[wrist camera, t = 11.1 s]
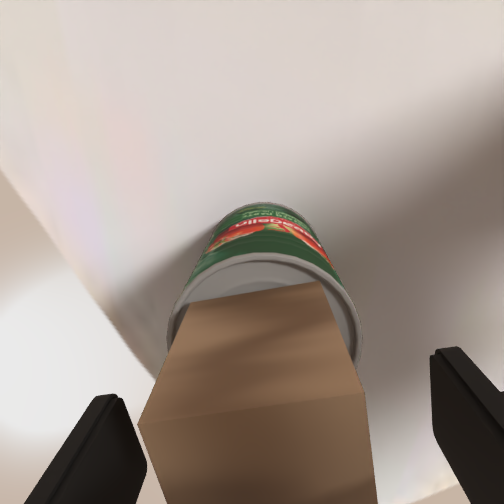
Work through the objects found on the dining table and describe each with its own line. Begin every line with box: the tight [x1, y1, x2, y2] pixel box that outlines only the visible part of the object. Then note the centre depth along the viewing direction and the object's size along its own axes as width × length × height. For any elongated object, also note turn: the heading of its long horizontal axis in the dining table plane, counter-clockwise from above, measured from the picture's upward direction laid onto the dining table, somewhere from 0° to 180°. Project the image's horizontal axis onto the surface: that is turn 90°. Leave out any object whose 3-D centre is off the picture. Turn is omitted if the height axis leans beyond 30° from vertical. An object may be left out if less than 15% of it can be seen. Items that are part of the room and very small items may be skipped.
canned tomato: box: [167, 202, 362, 370], centre depth 19 cm, size 8×8×11 cm
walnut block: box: [137, 281, 378, 504], centre depth 11 cm, size 5×5×6 cm
